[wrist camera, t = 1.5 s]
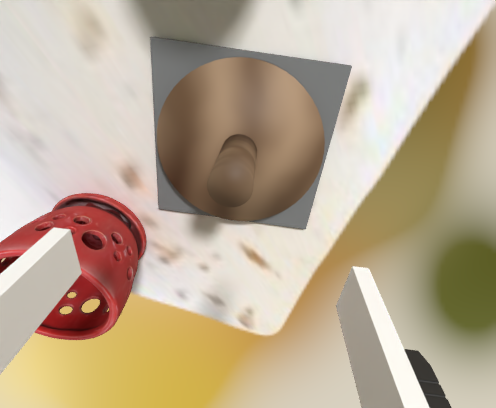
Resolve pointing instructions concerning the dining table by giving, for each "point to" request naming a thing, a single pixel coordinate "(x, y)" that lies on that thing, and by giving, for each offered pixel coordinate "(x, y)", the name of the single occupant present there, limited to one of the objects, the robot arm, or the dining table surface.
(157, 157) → the mat
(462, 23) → the dining table surface
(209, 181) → the lid
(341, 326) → the robot arm
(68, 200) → the plant pot
